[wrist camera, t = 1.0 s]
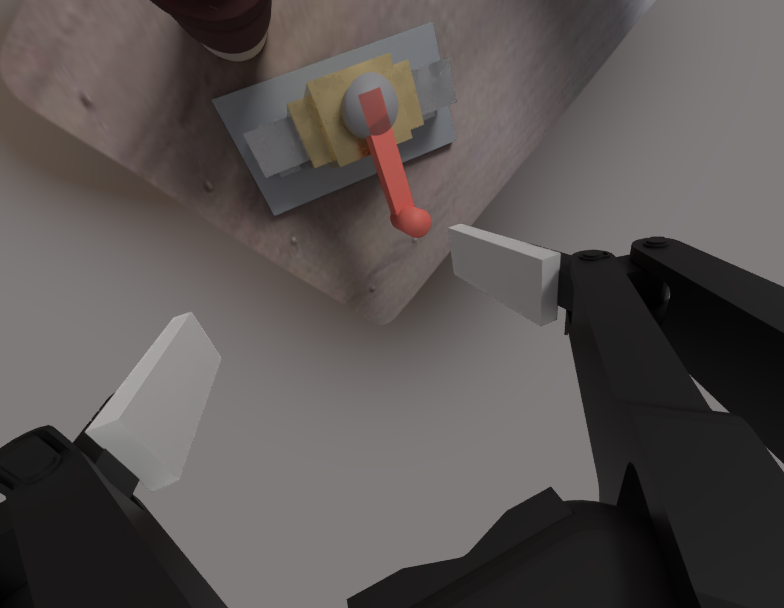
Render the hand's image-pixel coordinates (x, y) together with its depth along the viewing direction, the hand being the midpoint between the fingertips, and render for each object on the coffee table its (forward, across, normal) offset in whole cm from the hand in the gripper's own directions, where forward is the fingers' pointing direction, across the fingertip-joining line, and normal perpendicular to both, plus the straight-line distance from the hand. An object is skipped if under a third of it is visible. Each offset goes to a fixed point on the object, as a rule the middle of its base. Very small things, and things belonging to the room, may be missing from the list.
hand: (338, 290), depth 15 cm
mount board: (+25, +8, +9) cm, 28 cm away
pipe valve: (+24, +8, +9) cm, 27 cm away
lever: (+17, +9, +4) cm, 20 cm away
